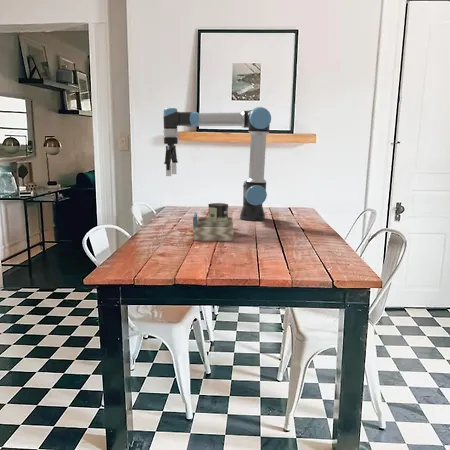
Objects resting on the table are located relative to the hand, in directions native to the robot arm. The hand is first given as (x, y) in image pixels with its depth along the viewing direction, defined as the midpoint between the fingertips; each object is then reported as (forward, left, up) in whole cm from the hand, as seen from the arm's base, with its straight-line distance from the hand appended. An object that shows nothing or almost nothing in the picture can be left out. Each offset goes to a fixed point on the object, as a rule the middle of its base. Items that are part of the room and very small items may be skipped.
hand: (171, 175), depth 263 cm
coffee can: (-27, +23, -27) cm, 45 cm away
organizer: (-25, +31, -27) cm, 48 cm away
